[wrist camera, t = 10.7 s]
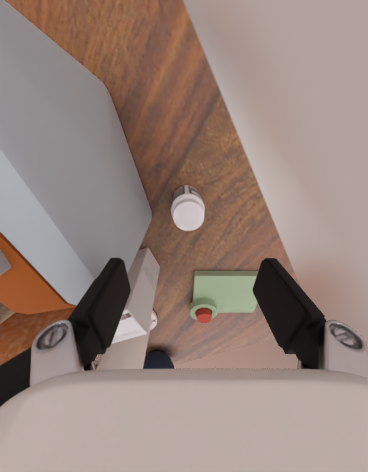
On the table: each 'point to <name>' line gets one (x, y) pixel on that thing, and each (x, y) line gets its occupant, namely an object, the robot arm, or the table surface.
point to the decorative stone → (157, 361)
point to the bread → (25, 330)
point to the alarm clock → (59, 174)
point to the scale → (223, 291)
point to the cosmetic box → (139, 297)
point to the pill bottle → (187, 208)
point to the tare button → (203, 315)
